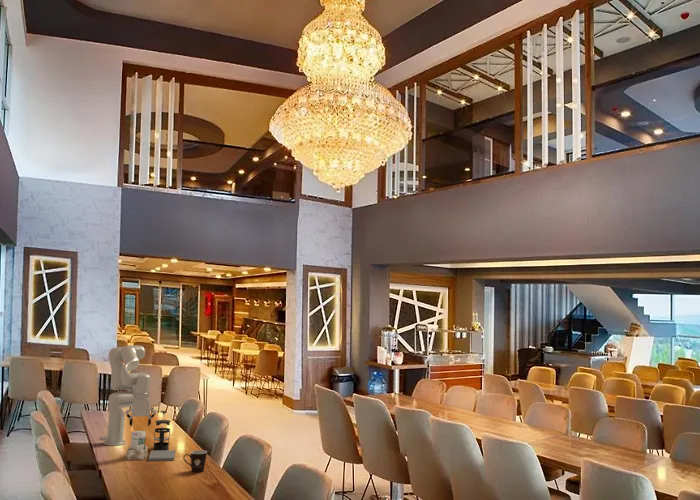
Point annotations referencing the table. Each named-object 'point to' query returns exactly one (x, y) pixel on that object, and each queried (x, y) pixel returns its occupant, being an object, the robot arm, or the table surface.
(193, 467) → the coffee mug
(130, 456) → the frame
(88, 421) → the table surface
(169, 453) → the slate board
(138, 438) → the syrup box
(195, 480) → the table surface
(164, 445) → the french press
